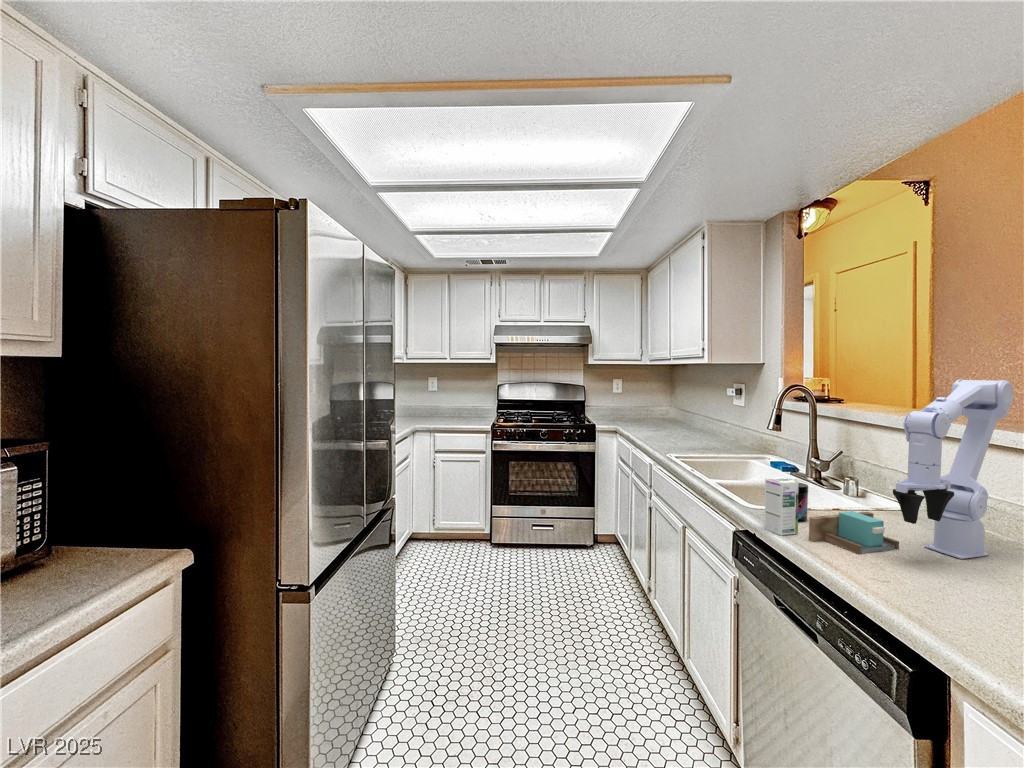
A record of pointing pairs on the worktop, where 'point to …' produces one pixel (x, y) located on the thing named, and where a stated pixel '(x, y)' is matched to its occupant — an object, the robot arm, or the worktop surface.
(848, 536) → the cabinet block
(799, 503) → the supplement container
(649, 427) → the worktop surface
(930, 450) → the robot arm
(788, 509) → the syrup box
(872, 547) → the grey flat plate
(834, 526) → the wooden tray
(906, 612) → the worktop surface
